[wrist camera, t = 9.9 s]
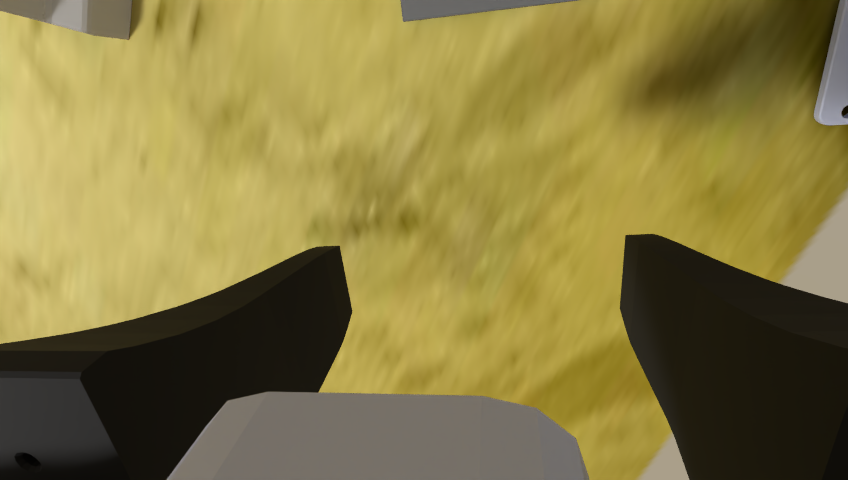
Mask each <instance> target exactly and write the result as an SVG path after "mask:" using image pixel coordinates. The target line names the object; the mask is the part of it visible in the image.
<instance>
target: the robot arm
mask: <svg viewBox="0 0 848 480" xmlns="http://www.w3.org/2000/svg"><path fill="white" fill-rule="evenodd" d="M847 105H848V0H840V2H839V6H838V11H837V15H836V19H835V24H834V28H833V32H832V37H831V41H830V45H829V50H828V54H827V59H826V63H825V67H824V72H823V76H822V80H821V85H820V89H819V93H818V98H817V102H816V106H815V111H814V118H815V120H816V121H817V122H819V123H820V124H824V125H843V124H848V113H847V114H846V115H845V116H841V112H842V110H843V108H844V107H846V106H847ZM620 310H621V314H622V317H623V321H624V324H625V328H626V331H627V334H628V337H629V340H630V343H631V345H632V347H633V350H634V352H635V354H636V356H637V358H638V360H639V362H640V364H641V366H642V369H643V371H644V373H645V375H646V377H647V379H648V381H649V383H650V385H651V387H652V389H653V391H654V393H655V395H656V397H657V399H658V402H659V404H660V406H661V408H662V410H663V412H664V414H665V416H666V418H667V420H668V423H669V425H670V427H671V430H672V432H673V434H674V437H675V439H676V442H677V445H678V448H679V451H680V454H681V456H682V459H683V462H684V465H685V468H686V471H687V474H688V476H689V479H690V480H848V303H844V302H840V301H836V300H832V299H829V298H825V297H821V296H818V295H814V294H811V293H808V292H804V291H801V290H797V289H794V288H791V287H788V286H784V285H781V284H778V283H775V282H772V281H770V280H767V279H764V278H761V277H759V276H756V275H753V274H751V273H748V272H745V271H743V270H740V269H737V268H735V267H733V266H730V265H728V264H725V263H723V262H720V261H718V260H716V259H713V258H711V257H709V256H707V255H704V254H702V253H700V252H697V251H695V250H693V249H691V248H688V247H686V246H684V245H682V244H679V243H677V242H675V241H672V240H670V239H667V238H665V237H662V236H659V235H655V234H641V235H626V237H625V250H624V262H623V275H622V288H621V301H620ZM351 314H352V308H351V302H350V297H349V292H348V287H347V282H346V277H345V272H344V266H343V261H342V256H341V251H340V246H323V247H315V248H312V249H309V250H306V251H304V252H302V253H299V254H297V255H295V256H293V257H291V258H289V259H287V260H285V261H283V262H281V263H279V264H277V265H275V266H273V267H271V268H268V269H266V270H264V271H262V272H260V273H258V274H256V275H254V276H252V277H250V278H247V279H245V280H243V281H241V282H239V283H237V284H234V285H232V286H230V287H228V288H226V289H223V290H221V291H218V292H216V293H213V294H211V295H208V296H206V297H203V298H200V299H197V300H195V301H192V302H189V303H186V304H184V305H181V306H178V307H174V308H171V309H167V310H164V311H161V312H157V313H154V314H150V315H147V316H144V317H140V318H137V319H133V320H129V321H125V322H121V323H116V324H112V325H108V326H103V327H99V328H94V329H89V330H84V331H79V332H74V333H69V334H63V335H56V336H50V337H44V338H37V339H31V340H25V341H18V342H11V343H3V344H0V480H589V476H588V473H587V470H586V467H585V464H584V461H583V458H582V455H581V452H580V449H579V446H578V443H577V440H576V438H575V437H573V436H572V435H571V434H569V433H568V432H567V431H566V430H564V429H563V428H562V427H560V426H559V425H558V424H556V423H555V422H554V421H553V420H551V419H550V418H549V417H547V416H546V415H545V414H543V413H542V412H541V411H540V410H538V409H537V408H534V407H529V406H525V405H520V404H516V403H511V402H507V401H502V400H498V399H493V398H489V397H485V396H459V395H410V394H361V393H318V392H319V390H320V388H321V386H322V384H323V382H324V380H325V378H326V376H327V374H328V372H329V370H330V368H331V366H332V364H333V362H334V360H335V358H336V355H337V353H338V351H339V349H340V347H341V345H342V343H343V340H344V337H345V334H346V331H347V328H348V325H349V321H350V318H351Z"/></svg>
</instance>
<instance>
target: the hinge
mask: <svg viewBox="0 0 848 480" xmlns="http://www.w3.org/2000/svg"><path fill="white" fill-rule="evenodd" d="M131 8H132V0H0V11H3V12H7V13H11V14H15V15H19V16H23V17H27V18H30V19H34V20H38V21H42V22H46V23H50V24H54V25H57V26H61V27H65V28H69V29H72V30H76V31H80V32H83V33H87V34H91V35H94V36H103V37H111V38H119V39H127V40H129V33H130V20H131Z"/></svg>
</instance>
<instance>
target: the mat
mask: <svg viewBox="0 0 848 480" xmlns="http://www.w3.org/2000/svg"><path fill="white" fill-rule="evenodd" d="M568 1H577V0H401V8H402V17H403V21H404V22H406V21H414V20H422V19H430V18H438V17H446V16H455V15H463V14H471V13H479V12H487V11H495V10H503V9H511V8H520V7H528V6H536V5H544V4H552V3H560V2H568Z"/></svg>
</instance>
